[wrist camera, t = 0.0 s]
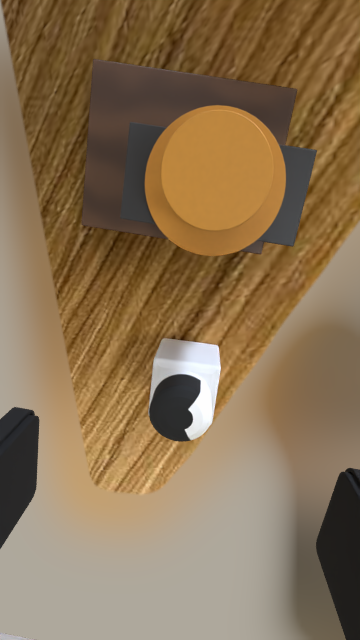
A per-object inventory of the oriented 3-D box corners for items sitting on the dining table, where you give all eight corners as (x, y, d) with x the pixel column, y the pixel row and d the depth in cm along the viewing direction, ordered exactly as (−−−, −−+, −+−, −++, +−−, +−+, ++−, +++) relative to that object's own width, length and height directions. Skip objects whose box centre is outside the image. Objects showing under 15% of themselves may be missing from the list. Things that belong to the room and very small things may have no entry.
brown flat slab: (105, 76, 35) (92, 58, 31) (287, 103, 34) (297, 88, 31) (93, 225, 39) (81, 225, 35) (255, 251, 39) (261, 254, 35)
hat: (155, 98, 21) (138, 54, 16) (299, 119, 21) (331, 82, 15) (138, 244, 24) (118, 249, 18) (266, 265, 23) (284, 276, 18)
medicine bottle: (156, 388, 44) (139, 445, 33) (162, 336, 42) (145, 378, 31) (211, 395, 44) (212, 456, 32) (219, 344, 42) (223, 389, 30)
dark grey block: (156, 156, 33) (129, 118, 22) (278, 175, 33) (317, 147, 21) (148, 220, 35) (119, 218, 23) (264, 239, 34) (293, 246, 23)
